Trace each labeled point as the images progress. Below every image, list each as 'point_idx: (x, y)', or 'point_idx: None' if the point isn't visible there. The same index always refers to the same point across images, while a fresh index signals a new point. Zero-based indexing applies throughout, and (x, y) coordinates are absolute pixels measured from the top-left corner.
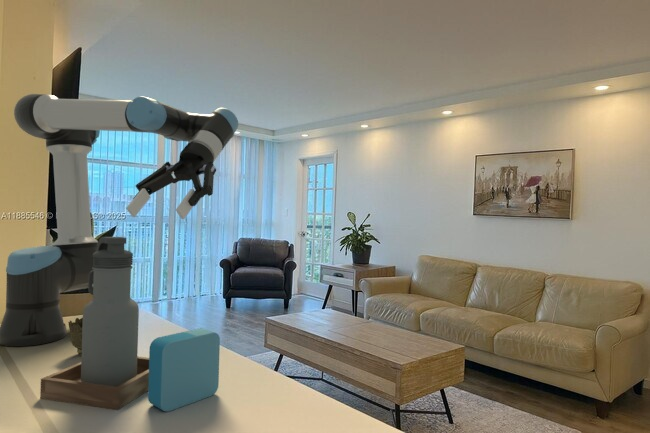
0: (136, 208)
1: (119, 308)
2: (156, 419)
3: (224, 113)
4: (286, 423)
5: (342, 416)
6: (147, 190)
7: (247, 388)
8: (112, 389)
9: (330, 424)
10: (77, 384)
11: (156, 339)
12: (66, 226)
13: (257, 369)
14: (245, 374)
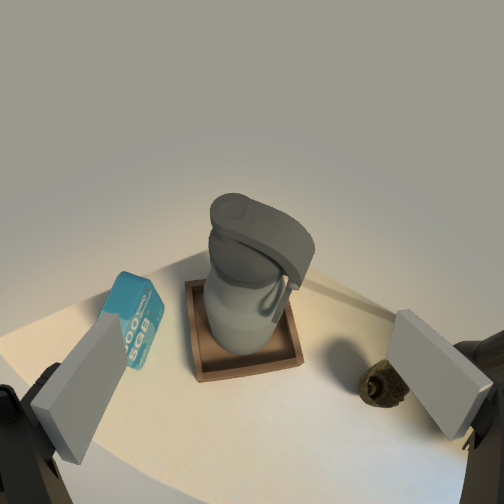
0: (405, 356)
1: (210, 273)
2: None
3: None
4: (44, 324)
5: (13, 350)
6: (489, 426)
7: None
8: (191, 281)
9: (19, 333)
10: None
11: (141, 281)
12: None
13: (115, 445)
14: (119, 425)
